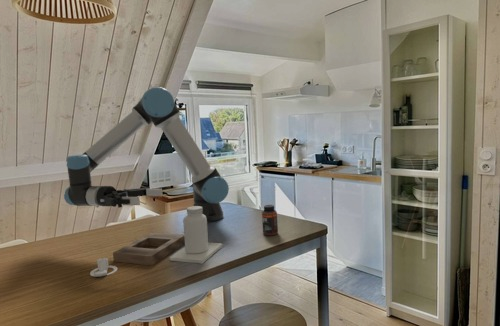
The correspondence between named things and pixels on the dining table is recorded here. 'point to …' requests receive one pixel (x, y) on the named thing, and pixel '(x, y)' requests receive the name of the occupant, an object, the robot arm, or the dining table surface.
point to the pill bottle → (195, 230)
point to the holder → (149, 256)
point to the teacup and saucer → (102, 268)
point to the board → (198, 257)
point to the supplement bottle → (269, 220)
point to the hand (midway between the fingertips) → (151, 196)
